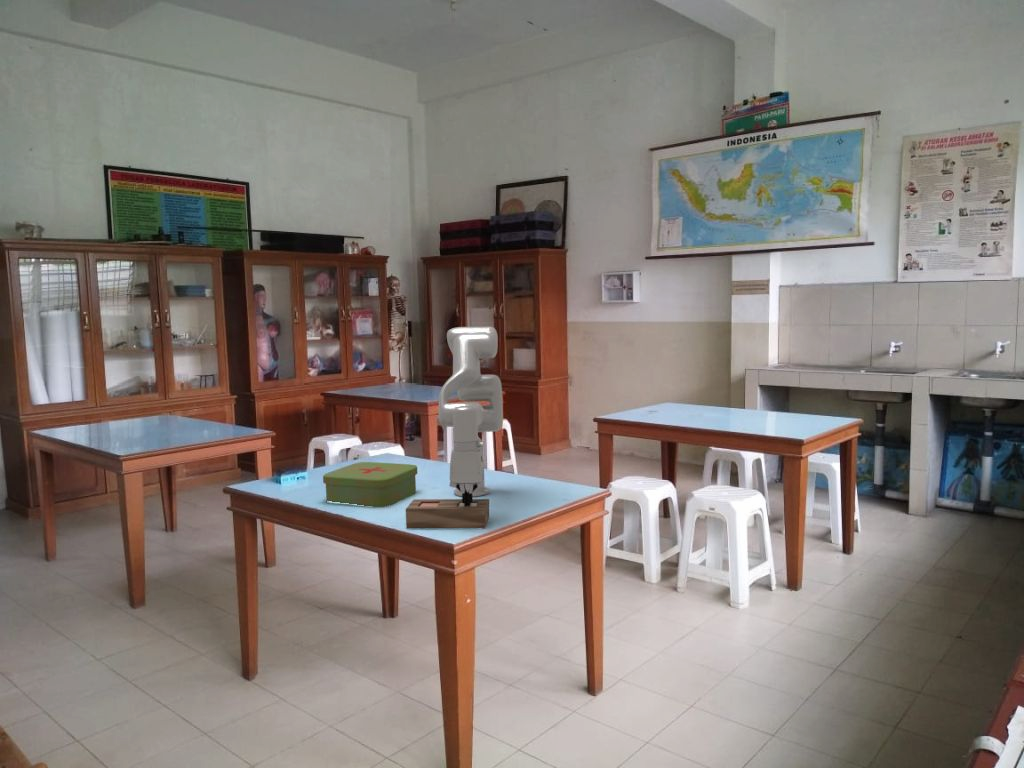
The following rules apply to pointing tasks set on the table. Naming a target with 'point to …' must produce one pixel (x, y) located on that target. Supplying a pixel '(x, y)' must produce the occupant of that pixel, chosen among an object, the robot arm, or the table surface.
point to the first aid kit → (371, 483)
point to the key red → (429, 505)
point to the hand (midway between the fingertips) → (467, 505)
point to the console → (447, 514)
